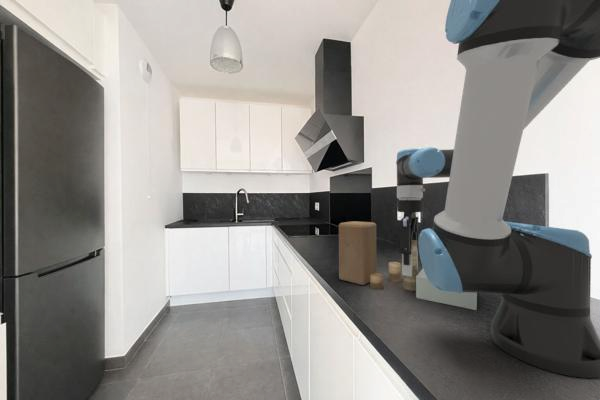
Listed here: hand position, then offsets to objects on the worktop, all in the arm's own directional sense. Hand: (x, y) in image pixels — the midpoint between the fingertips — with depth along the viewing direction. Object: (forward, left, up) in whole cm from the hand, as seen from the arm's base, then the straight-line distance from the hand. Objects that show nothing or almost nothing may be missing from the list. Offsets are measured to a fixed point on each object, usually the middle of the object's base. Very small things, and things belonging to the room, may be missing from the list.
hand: (410, 272), depth 78 cm
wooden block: (-1, +17, -5) cm, 18 cm away
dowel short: (-5, +9, -5) cm, 12 cm away
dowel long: (0, 0, -5) cm, 5 cm away
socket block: (0, -10, -5) cm, 11 cm away
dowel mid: (+5, +6, -5) cm, 9 cm away
